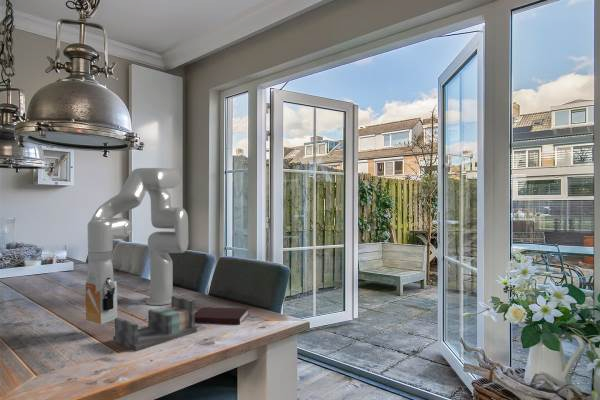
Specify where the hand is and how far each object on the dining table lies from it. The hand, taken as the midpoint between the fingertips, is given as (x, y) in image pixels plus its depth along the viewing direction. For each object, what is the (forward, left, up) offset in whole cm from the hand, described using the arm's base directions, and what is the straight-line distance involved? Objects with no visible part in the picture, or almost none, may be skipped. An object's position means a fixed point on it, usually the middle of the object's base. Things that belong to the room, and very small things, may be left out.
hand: (101, 306), depth 130 cm
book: (+18, +36, -10) cm, 42 cm away
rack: (+16, +10, -9) cm, 21 cm away
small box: (0, 0, -5) cm, 5 cm away
